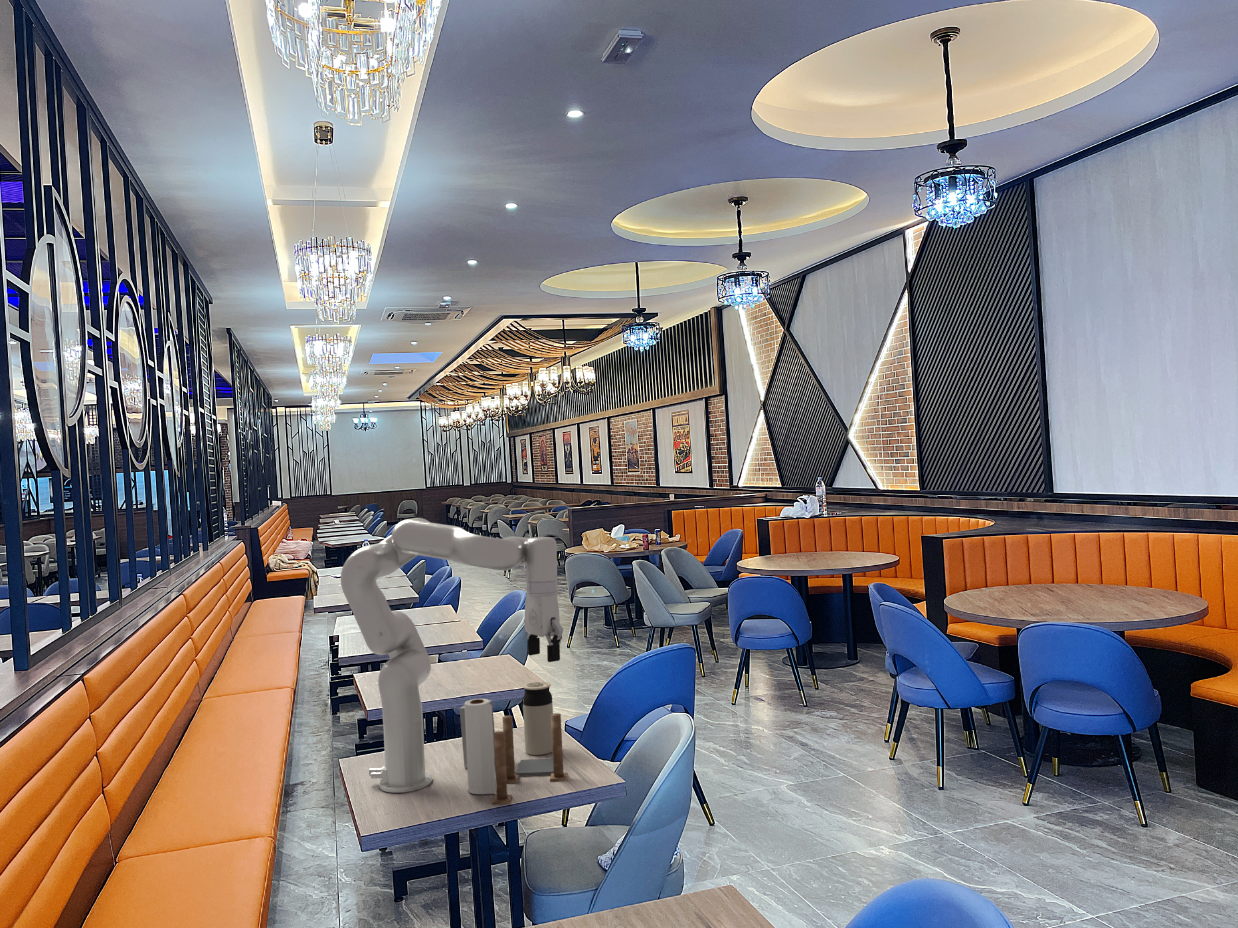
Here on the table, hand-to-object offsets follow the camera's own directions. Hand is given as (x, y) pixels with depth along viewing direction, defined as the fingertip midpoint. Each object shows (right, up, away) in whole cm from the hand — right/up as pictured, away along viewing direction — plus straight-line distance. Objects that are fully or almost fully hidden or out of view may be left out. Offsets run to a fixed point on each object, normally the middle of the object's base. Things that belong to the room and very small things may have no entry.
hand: (543, 657), depth 208 cm
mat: (-2, -30, +9) cm, 32 cm away
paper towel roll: (-14, -31, -5) cm, 35 cm away
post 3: (+4, -30, +2) cm, 30 cm away
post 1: (-9, -31, -11) cm, 34 cm away
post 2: (-8, -31, +2) cm, 32 cm away
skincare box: (-18, -32, +15) cm, 39 cm away
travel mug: (-3, -31, +23) cm, 39 cm away
